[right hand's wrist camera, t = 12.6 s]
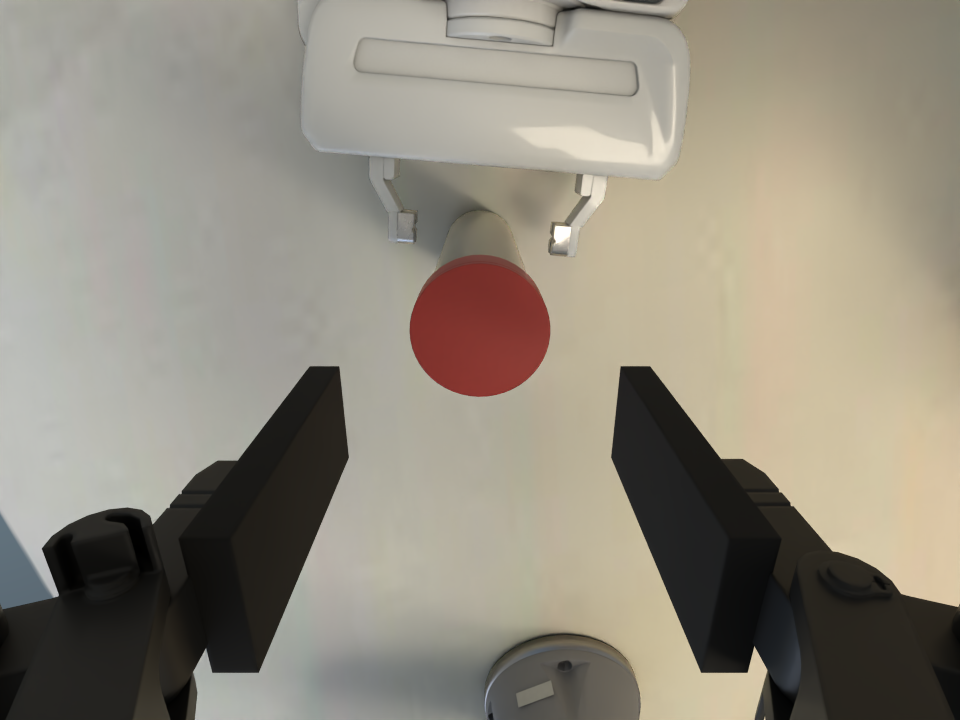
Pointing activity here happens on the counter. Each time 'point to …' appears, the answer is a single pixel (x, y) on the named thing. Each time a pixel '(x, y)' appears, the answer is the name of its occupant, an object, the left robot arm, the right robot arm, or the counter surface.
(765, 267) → the counter surface
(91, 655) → the right robot arm
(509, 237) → the grey cylinder
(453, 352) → the lid
